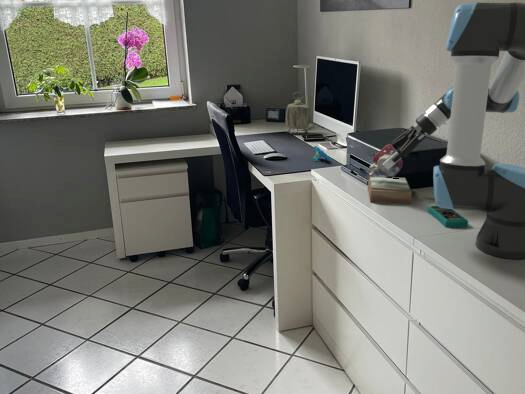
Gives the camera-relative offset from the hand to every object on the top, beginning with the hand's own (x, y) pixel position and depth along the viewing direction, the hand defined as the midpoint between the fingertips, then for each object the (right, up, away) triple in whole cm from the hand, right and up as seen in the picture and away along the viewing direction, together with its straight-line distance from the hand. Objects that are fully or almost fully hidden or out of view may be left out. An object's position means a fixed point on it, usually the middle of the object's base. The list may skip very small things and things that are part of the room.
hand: (382, 163), depth 184 cm
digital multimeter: (+16, -20, -20) cm, 33 cm away
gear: (-16, +5, +55) cm, 58 cm away
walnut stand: (+3, -12, +3) cm, 13 cm away
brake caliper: (+1, -4, +1) cm, 5 cm away
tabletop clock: (-23, +26, +121) cm, 126 cm away
